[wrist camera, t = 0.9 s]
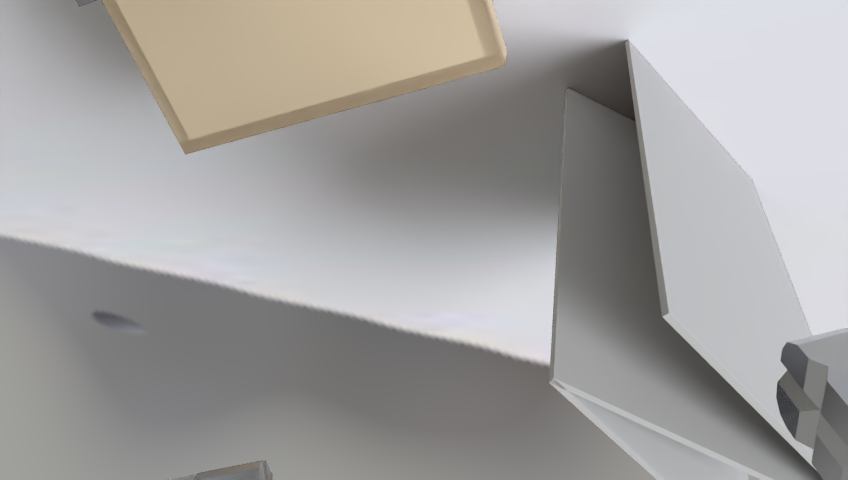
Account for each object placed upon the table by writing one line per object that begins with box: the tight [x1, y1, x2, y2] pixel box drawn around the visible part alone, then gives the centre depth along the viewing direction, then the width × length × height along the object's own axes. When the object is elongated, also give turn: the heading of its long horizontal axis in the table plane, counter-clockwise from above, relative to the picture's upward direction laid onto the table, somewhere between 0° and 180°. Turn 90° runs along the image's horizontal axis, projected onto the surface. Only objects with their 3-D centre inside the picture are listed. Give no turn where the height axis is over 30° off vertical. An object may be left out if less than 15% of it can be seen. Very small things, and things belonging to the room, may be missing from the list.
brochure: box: [549, 40, 823, 480], centre depth 43 cm, size 14×6×30 cm, turn 46°
